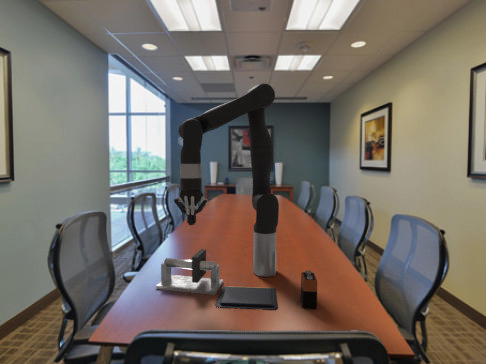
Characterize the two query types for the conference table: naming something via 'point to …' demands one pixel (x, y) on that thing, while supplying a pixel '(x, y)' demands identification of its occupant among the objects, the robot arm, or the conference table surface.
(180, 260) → the pipe stand
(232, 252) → the conference table surface
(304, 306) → the battery
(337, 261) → the conference table surface
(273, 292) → the wallet
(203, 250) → the dark grey wedge plate
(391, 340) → the conference table surface
